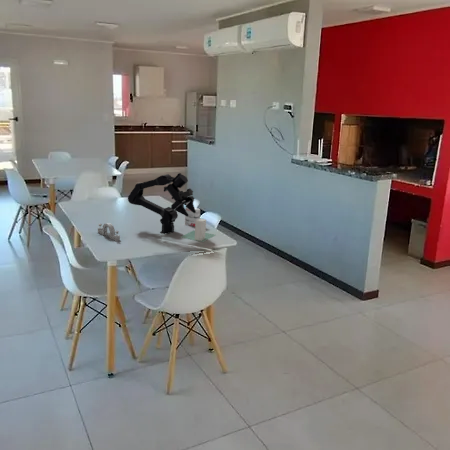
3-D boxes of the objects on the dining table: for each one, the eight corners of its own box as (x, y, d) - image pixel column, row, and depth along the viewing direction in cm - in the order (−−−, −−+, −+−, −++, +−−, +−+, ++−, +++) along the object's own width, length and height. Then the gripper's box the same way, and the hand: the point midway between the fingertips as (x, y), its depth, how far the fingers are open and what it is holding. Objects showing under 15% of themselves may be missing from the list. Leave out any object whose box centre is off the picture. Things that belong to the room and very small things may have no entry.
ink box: (199, 226, 293) (200, 208, 290) (194, 228, 289) (195, 209, 286) (189, 223, 297) (190, 206, 294) (184, 225, 294) (185, 207, 290)
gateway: (97, 233, 267) (97, 219, 265) (101, 232, 269) (101, 219, 267) (116, 241, 254) (116, 227, 252) (119, 241, 255) (120, 227, 253)
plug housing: (194, 239, 262) (195, 220, 259) (199, 237, 267) (200, 218, 264) (200, 240, 261) (201, 221, 258) (205, 238, 266) (206, 219, 263)
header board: (179, 238, 265) (179, 233, 264) (193, 232, 280) (193, 227, 279) (203, 243, 259) (203, 238, 258) (215, 236, 274) (216, 231, 273)
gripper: (176, 186, 255) (193, 209, 254) (192, 182, 272) (208, 203, 271) (163, 198, 260) (180, 220, 259) (179, 193, 277) (195, 214, 276)
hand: (191, 214), depth 266 cm, fingers open, 9 cm apart
